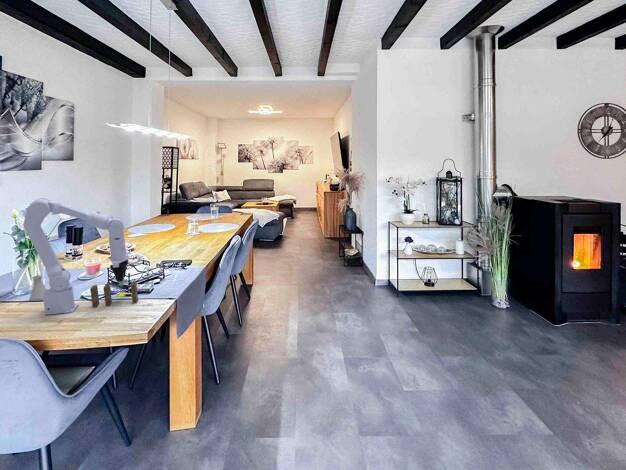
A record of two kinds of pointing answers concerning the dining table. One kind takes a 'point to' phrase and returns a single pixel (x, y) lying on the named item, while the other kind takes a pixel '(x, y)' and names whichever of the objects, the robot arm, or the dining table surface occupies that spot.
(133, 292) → the domino
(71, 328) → the dining table surface
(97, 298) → the domino
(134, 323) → the dining table surface
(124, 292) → the dining table surface
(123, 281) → the domino
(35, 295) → the flask
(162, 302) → the dining table surface
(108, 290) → the domino
